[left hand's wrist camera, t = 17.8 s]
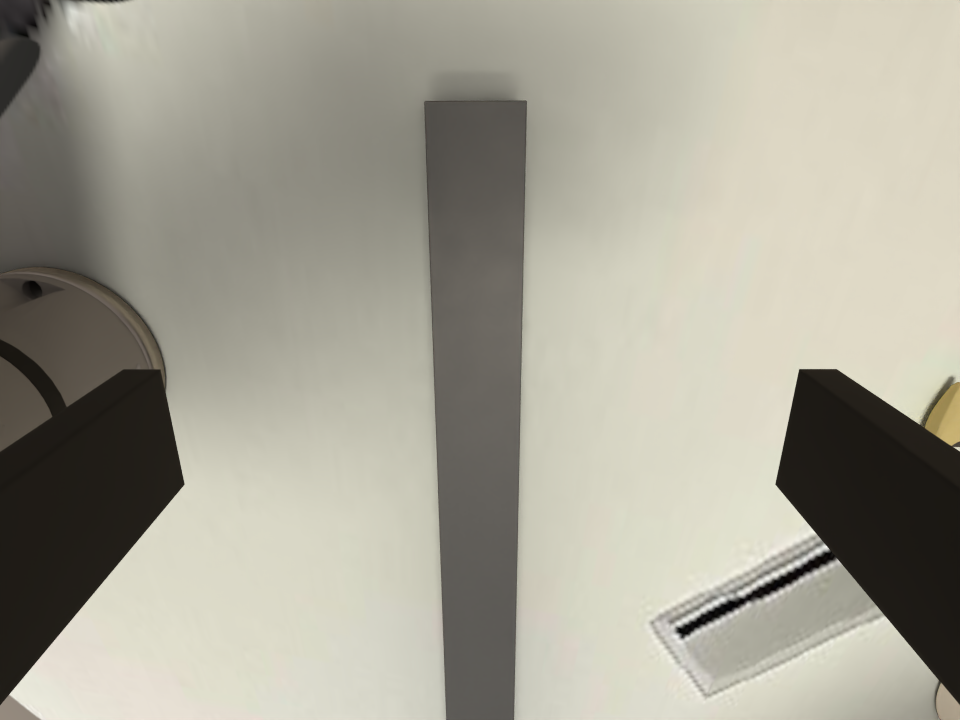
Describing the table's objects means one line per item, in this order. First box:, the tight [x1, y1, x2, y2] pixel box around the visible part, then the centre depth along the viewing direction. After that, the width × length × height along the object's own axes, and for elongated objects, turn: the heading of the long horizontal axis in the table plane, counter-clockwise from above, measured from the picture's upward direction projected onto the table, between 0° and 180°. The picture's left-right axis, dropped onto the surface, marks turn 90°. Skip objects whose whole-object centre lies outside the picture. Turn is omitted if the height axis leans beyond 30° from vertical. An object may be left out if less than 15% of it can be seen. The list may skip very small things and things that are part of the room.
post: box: [424, 101, 527, 720], centre depth 51 cm, size 83×6×7 cm, turn 0°
